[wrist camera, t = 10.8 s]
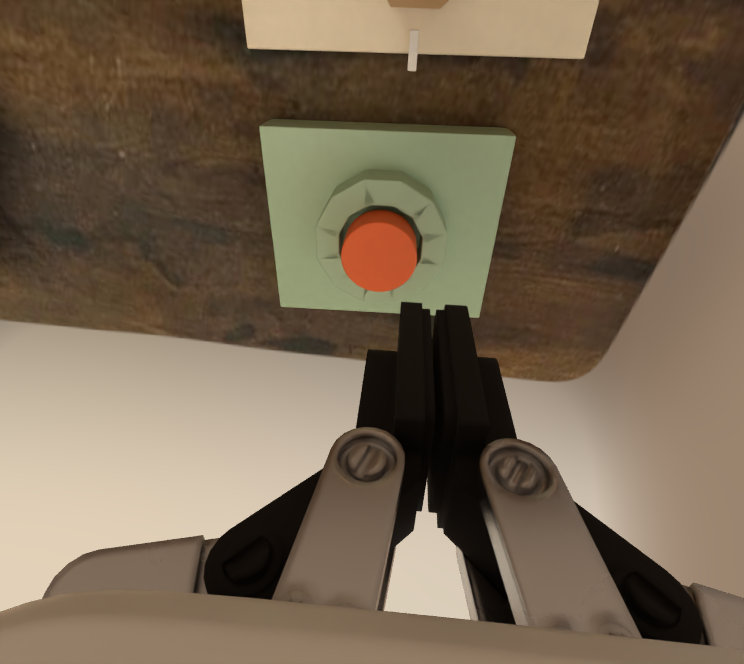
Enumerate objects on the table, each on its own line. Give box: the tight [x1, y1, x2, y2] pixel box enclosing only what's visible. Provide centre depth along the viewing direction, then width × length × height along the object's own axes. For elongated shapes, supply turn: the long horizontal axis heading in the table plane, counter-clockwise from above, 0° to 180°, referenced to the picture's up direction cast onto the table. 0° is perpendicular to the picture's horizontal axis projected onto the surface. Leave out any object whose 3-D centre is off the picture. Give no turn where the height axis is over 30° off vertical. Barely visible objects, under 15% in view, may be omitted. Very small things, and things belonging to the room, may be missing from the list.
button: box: [341, 210, 417, 292], centre depth 20 cm, size 4×4×2 cm
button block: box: [259, 119, 516, 318], centre depth 22 cm, size 12×10×4 cm
